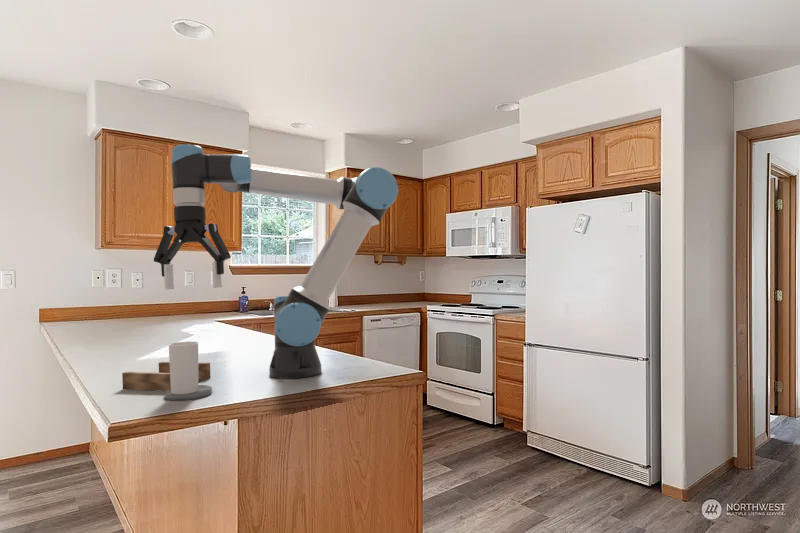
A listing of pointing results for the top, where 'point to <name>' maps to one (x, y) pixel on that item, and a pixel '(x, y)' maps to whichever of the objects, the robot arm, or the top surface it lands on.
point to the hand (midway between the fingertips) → (193, 288)
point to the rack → (158, 378)
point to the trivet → (202, 392)
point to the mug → (183, 367)
